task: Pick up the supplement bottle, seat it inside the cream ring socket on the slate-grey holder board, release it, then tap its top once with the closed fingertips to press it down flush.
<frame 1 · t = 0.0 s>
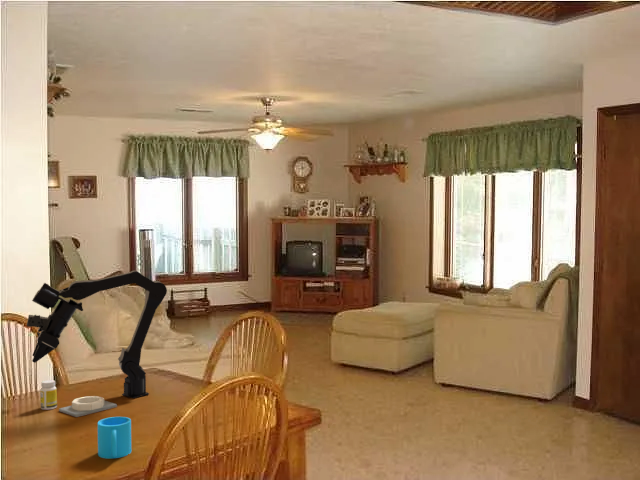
hand: (33, 359, 217), 15 cm above the table, tool tilted 35°, fingers open, 9 cm apart
holder board: (88, 408, 214), on the table
mug: (114, 456, 173), on the table
supplement bottle: (48, 408, 215), on the table
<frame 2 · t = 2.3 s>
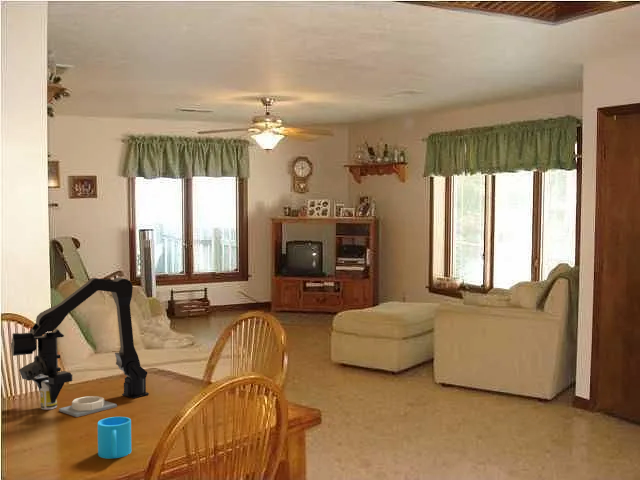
hand: (48, 401, 215), 2 cm above the table, tool pointing down, fingers closed on supplement bottle, 5 cm apart
supplement bottle: (48, 408, 215), on the table, touching gripper
everything else where it was.
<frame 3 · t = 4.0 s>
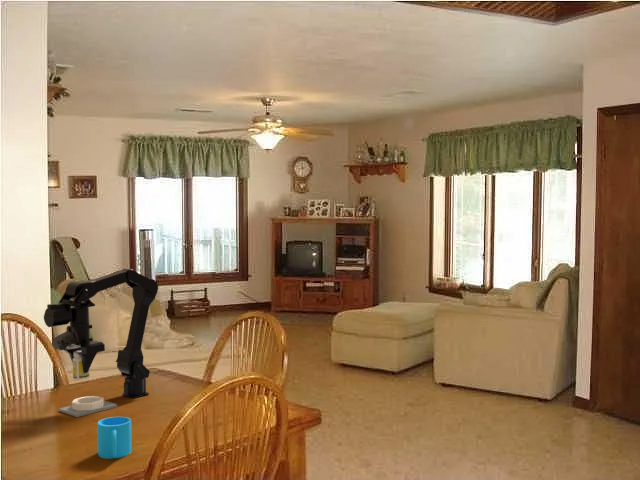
hand: (81, 371, 214), 12 cm above the table, tool pointing down, fingers closed on supplement bottle, 5 cm apart
supplement bottle: (81, 378, 214), point 9 cm above the table, touching gripper
everything else where it was.
when the fingers open (4 cm above the table, at t = 6.1 s): supplement bottle stays where it is, resting on holder board.
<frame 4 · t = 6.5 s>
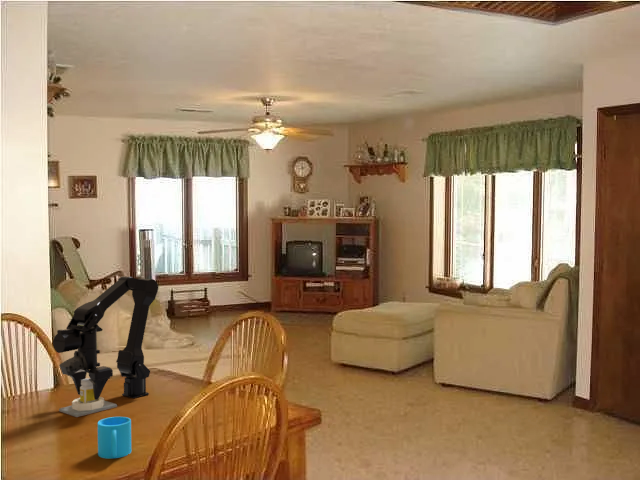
hand: (88, 396, 214), 4 cm above the table, tool pointing down, fingers open, 9 cm apart
supplement bottle: (88, 407, 214), point 1 cm above the table, touching holder board
everything else where it was.
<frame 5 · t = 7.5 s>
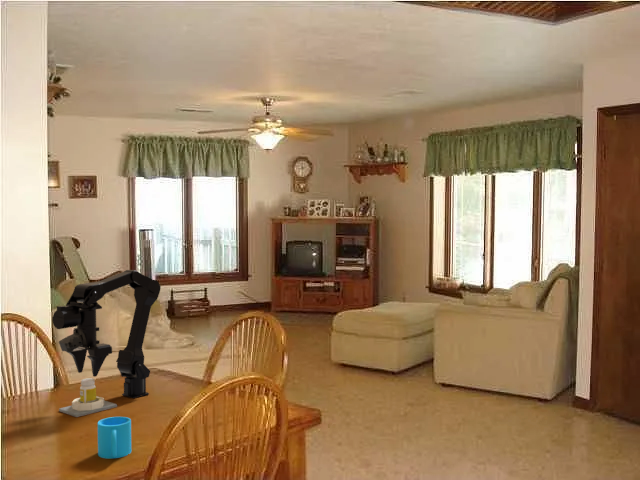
hand: (87, 374, 213), 11 cm above the table, tool pointing down, fingers open, 8 cm apart
nothing on the table moved.
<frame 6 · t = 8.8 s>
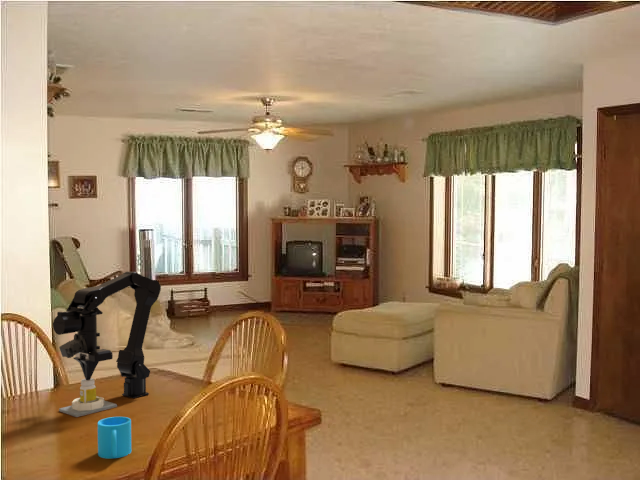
hand: (87, 379, 214), 9 cm above the table, tool pointing down, fingers closed, pressing on supplement bottle
supplement bottle: (88, 407, 214), point 1 cm above the table, touching gripper, holder board
everything else where it was.
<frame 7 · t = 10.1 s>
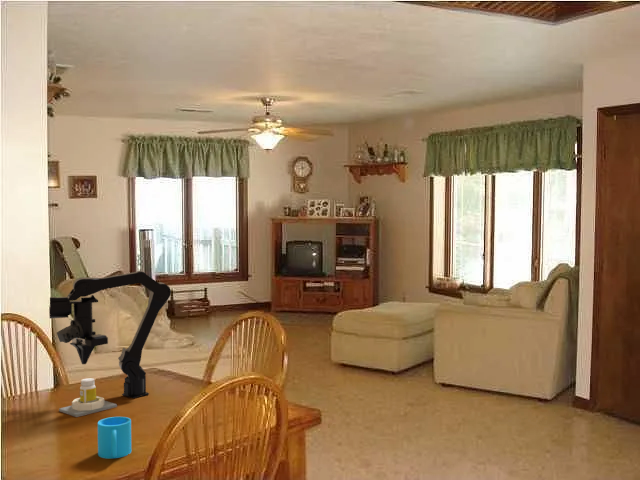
hand: (84, 364, 223), 12 cm above the table, tool pointing down, fingers closed
supplement bottle: (88, 407, 214), point 1 cm above the table, touching holder board
everything else where it was.
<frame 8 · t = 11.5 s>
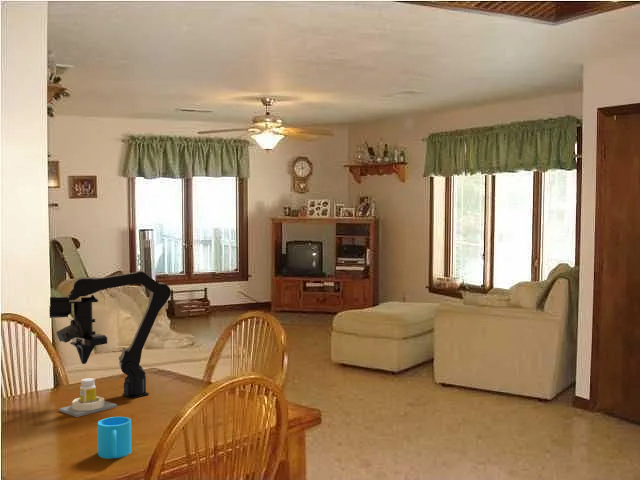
hand: (84, 363, 224), 12 cm above the table, tool pointing down, fingers closed
nothing on the table moved.
at the end: supplement bottle 0.0 cm off-centre on the holder board, point 0.6 cm above the holder board's base; supplement bottle tilted 0°; the gripper is holding nothing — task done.
